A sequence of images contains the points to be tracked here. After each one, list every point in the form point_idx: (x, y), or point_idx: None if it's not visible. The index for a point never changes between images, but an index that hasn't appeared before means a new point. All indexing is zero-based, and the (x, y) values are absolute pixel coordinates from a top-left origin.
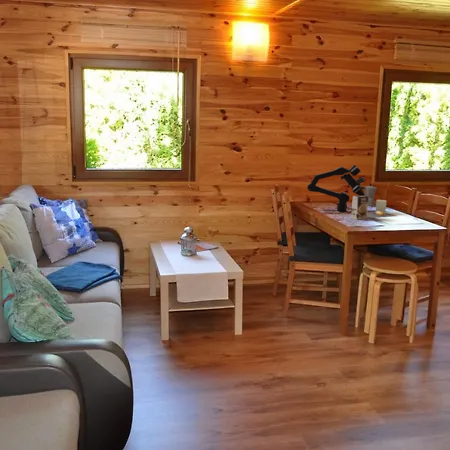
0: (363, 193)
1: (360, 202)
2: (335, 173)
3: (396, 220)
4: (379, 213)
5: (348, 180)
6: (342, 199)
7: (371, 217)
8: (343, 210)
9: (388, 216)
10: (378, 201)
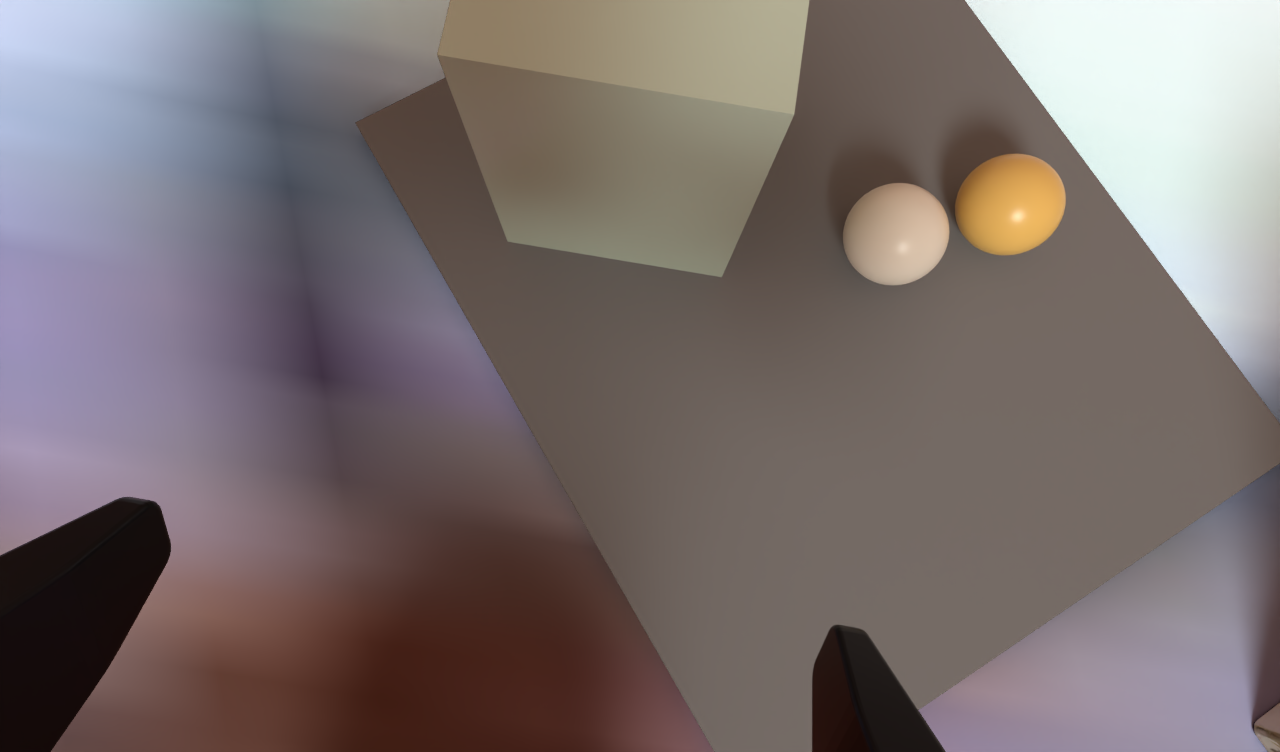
0: (70, 593)
1: None
2: None
3: (1274, 12)
4: (1047, 237)
5: None
6: None
7: (1258, 472)
8: None
9: (990, 75)
10: (795, 67)
